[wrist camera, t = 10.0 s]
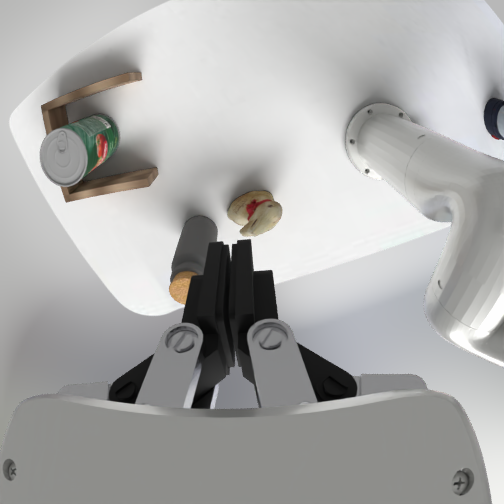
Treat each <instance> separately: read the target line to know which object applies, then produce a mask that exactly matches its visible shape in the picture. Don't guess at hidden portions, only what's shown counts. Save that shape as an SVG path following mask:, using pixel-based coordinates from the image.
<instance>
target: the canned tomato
mask: <svg viewBox="0 0 504 504" xmlns="http://www.w3.org/2000/svg"><path fill="white" fill-rule="evenodd" d="M119 142H120V132H119V129H118V126H117V124H116V123H115V121H114V120H113V119H112V118H110V117H109V116H107V115H104V114H94V115H91V116H89V117H86V118H83V119H81V120H78V121H75V122H73V123H70V124H68V125H65V126H63V127H60V128H58V129H55V130H53V131H51V132H50V133H49V134H48V135H47V136H46V137H45V138H44V140H43V142H42V145H41V149H40V162H41V166H42V169H43V171H44V173H45V175H46V176H47V178H48V179H49V180H50V181H51V182H53V183H54V184H56V185H58V186H62V187H69V186H72V185H74V184H76V183H78V182H79V181H80V180H81V179H82V178H83V177H84V176H86V175H87V174H88V173H90V172H91V171H92V170H94V169H95V168H96V167H97V166H99V165H100V164H102V163H103V162H104V161H106V160H107V159H109V158H110V157H111V156H113V155H114V153H115V152H116V150H117V148H118V146H119Z"/></svg>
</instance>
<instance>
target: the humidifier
mask: <svg viewBox="0 0 504 504" xmlns="http://www.w3.org/2000/svg"><path fill="white" fill-rule="evenodd" d="M484 121H485V126H486V129H487V130H488V132H489V133H490V134H491V136H492V137H493V138H495V139H498V140H500V139H502V140H504V101H502V100H499V99H496V98H493V99H490V100H489V101H488V103H487V105H486V107H485V111H484Z"/></svg>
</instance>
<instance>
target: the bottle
mask: <svg viewBox="0 0 504 504" xmlns="http://www.w3.org/2000/svg"><path fill="white" fill-rule="evenodd" d="M209 242H217V227H216V225H215V223H214V222H213V221H212V220H210V219H209V218H207V217H203V216H196V217H193V218H190V219H189V220H188V221H187V222H186V223H185V225H184V227H183V230H182V233H181V236H180V239H179V242H178V245H177V248H176V252H175V255H174V258H173V261H172V267H171V268H172V274H171V278H170V282H171V284H170V287H169V292H170V295H171V296H172V298H173V299H174V300H176V301H177V302H179V303H181V304H185V303H186V299H187V294H188V289H189V285H190V280H191V277H192V275H203V273H204V267H205V262H206V256H207V251H208V245H209Z"/></svg>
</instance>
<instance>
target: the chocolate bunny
mask: <svg viewBox="0 0 504 504" xmlns="http://www.w3.org/2000/svg"><path fill="white" fill-rule="evenodd" d="M227 215H228V218H229V219H231V220H233V221H234V222H235V223H237V224H238V225H242V226H244V227H243V228H242V229H241V230H240V233H241V234H242V236H245V237H249V236H254V237H255V236H258V235H260V234H263V233H264V232H267V231H269V230H271V229H272V228H273V227H274V226H275V225H276V224H277V223H278V221H279V220H280V219H281V216H282V207H281V205H280V204H279V203H278V202H275V201H274V199H273V196H272V195H271V193H269V192H267V191H251V192H249V193H246V194H244V195H242V196H240V197H238V198H237V199H235V200H234V201H233V202H232V204H231V206H230V208H229V210H228V213H227Z"/></svg>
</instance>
